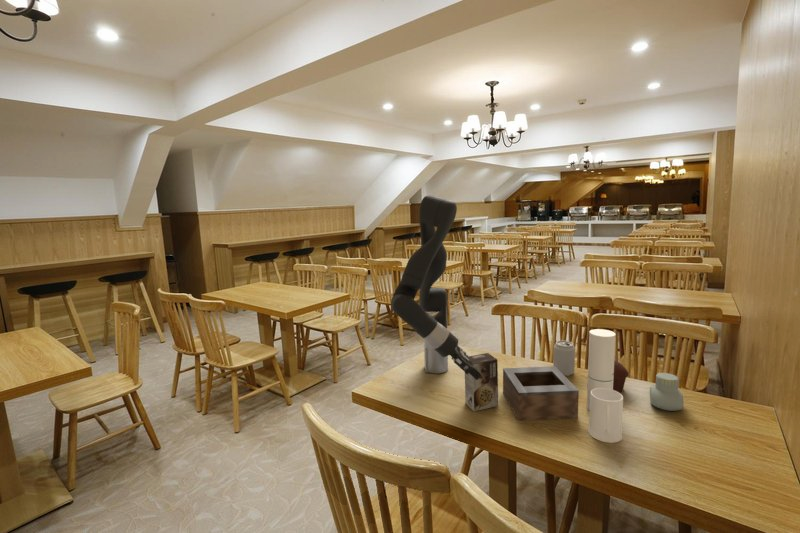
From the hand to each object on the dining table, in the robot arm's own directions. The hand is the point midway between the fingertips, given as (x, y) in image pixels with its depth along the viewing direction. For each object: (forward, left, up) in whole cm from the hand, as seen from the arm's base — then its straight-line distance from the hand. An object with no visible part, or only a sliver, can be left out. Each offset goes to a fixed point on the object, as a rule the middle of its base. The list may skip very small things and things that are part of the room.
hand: (476, 372), depth 129 cm
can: (+38, +22, -12) cm, 45 cm away
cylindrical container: (+38, -5, -12) cm, 40 cm away
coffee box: (+2, 0, -12) cm, 12 cm away
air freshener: (+59, -5, -12) cm, 60 cm away
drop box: (+20, -1, -12) cm, 23 cm away
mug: (+32, -20, -12) cm, 39 cm away
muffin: (+48, +8, -12) cm, 50 cm away
